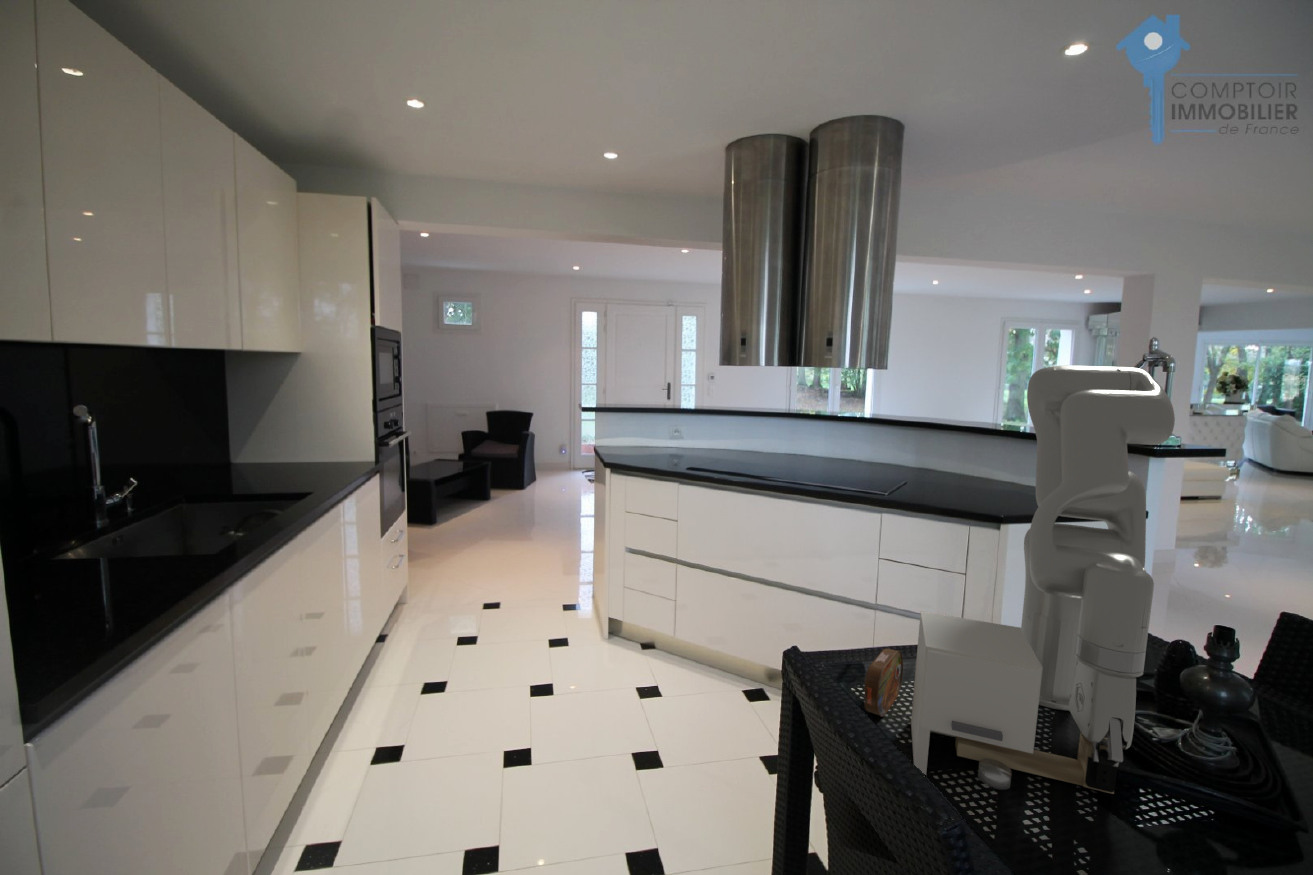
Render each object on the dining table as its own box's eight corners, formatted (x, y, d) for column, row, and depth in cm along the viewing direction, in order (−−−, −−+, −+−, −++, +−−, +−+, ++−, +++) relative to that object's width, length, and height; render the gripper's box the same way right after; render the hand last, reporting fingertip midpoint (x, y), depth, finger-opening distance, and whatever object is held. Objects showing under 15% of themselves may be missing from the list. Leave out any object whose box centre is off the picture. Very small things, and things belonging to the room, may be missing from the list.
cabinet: (910, 722, 97) (920, 611, 95) (1008, 744, 92) (1020, 627, 90) (914, 780, 83) (926, 650, 81) (1030, 810, 78) (1045, 673, 76)
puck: (976, 768, 86) (977, 755, 86) (1007, 776, 85) (1008, 763, 85) (979, 785, 83) (981, 772, 82) (1012, 794, 81) (1014, 780, 81)
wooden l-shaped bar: (954, 743, 91) (958, 706, 90) (1105, 778, 84) (1109, 738, 83) (957, 756, 88) (960, 718, 87) (1113, 794, 81) (1118, 752, 80)
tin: (878, 725, 96) (882, 676, 95) (858, 718, 98) (862, 669, 97) (903, 689, 108) (906, 645, 107) (885, 683, 110) (889, 640, 109)
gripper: (1060, 626, 90) (1048, 739, 92) (1096, 674, 75) (1080, 809, 77) (1120, 636, 87) (1106, 752, 89) (1169, 688, 72) (1151, 827, 74)
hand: (1094, 777), depth 83 cm, fingers closed on wooden l-shaped bar, 3 cm apart
